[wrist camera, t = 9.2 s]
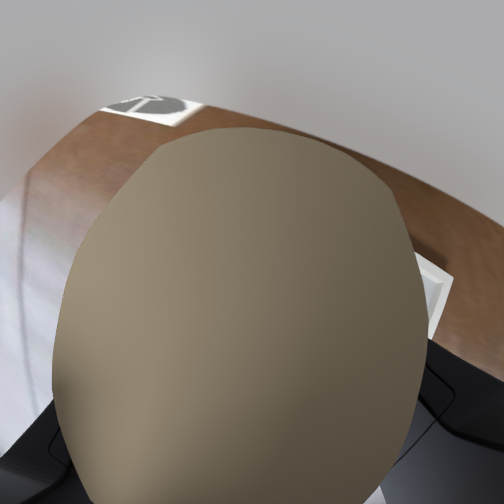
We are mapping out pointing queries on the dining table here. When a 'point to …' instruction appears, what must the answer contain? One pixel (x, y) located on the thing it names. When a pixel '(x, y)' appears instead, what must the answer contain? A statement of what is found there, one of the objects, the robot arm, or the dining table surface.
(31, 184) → the dining table surface
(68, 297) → the handle
